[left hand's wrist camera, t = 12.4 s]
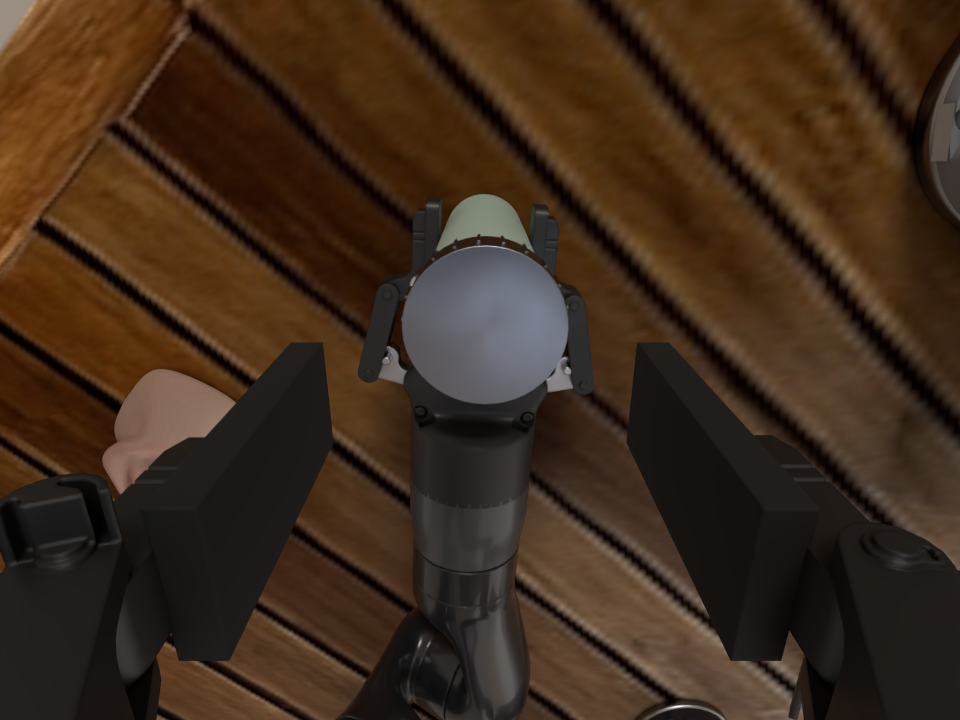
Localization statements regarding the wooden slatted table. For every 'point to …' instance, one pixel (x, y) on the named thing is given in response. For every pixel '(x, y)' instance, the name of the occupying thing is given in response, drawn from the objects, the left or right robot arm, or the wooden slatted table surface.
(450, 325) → the lid
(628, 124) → the wooden slatted table surface
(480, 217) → the pale green cylinder
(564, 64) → the wooden slatted table surface
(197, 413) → the anatomical model
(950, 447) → the wooden slatted table surface
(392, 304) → the right robot arm
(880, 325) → the wooden slatted table surface
